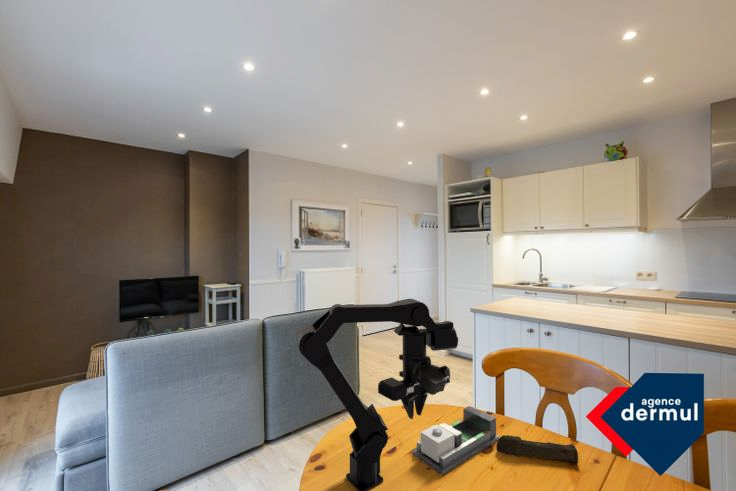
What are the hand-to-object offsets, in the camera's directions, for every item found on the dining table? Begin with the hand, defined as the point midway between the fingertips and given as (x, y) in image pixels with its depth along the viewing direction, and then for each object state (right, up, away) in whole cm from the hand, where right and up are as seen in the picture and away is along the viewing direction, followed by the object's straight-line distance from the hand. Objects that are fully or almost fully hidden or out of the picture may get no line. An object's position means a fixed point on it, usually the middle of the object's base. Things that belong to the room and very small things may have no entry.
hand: (414, 416), depth 79 cm
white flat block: (+10, -12, +8) cm, 17 cm away
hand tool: (+32, -13, +5) cm, 35 cm away
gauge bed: (+13, -13, +9) cm, 21 cm away
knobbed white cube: (+6, -12, +5) cm, 14 cm away
